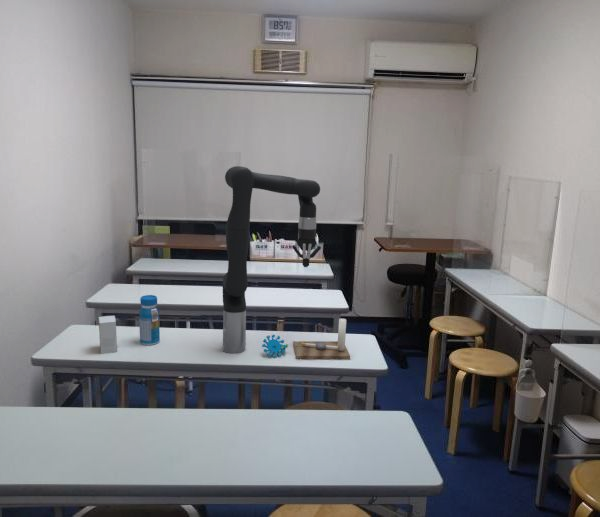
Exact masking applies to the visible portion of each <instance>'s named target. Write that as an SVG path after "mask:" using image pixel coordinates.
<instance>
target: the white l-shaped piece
mask: <svg viewBox="0 0 600 517" xmlns="http://www.w3.org/2000/svg"><path fill="white" fill-rule="evenodd" d="M346 331H347V319H346V318H339V319H338V331H337V332H338V333H337V341H338V347H337V346H328V345H326V343H323V342H318V343H316V344H310V343H303V342H302V343H301V345H305V346H314V347H316V349H319V350H324V349H326V348H333V349H337V350H339V351H344V350H345V346H346Z"/></svg>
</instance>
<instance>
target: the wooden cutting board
mask: <svg viewBox="0 0 600 517" xmlns="http://www.w3.org/2000/svg"><path fill="white" fill-rule="evenodd" d="M302 342H303V343H310V344H316V343H318V342H323V343H326V345H328V346H337V347H338V340H337V341H335V340H333V341H331V340H330V341H327V340H326V341H320V340H317V341H311V340H310V341H301V340H299V341H296V340H295V341H292V346H293V350H294V355H295V356H296V357H295V359H298V360H300V359H301V360H303V361H304V360H309V361H310V360H351V354H350V353H349V351H348V348H347V346H346V345H345V350H344V351H339V350H337V349H333V348H326V349H324V350H319V349H316V347H314V346H305V345H301V343H302Z"/></svg>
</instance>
